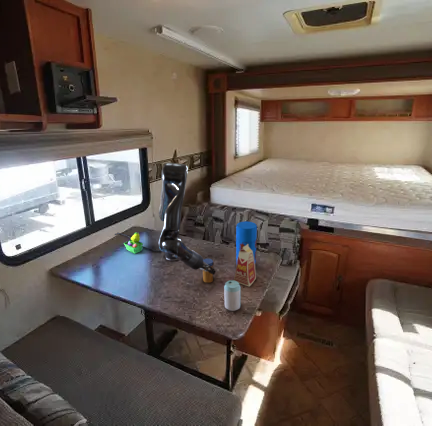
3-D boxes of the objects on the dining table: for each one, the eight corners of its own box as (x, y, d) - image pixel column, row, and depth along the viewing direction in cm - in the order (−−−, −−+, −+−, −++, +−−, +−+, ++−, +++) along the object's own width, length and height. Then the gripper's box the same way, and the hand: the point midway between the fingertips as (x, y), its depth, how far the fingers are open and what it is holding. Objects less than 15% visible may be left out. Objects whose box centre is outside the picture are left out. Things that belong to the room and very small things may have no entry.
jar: (201, 280, 147) (200, 262, 143) (208, 276, 150) (207, 258, 147) (208, 284, 144) (207, 265, 140) (215, 279, 147) (214, 261, 143)
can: (222, 309, 125) (222, 286, 120) (227, 300, 131) (226, 278, 127) (238, 313, 122) (238, 289, 118) (242, 303, 128) (242, 280, 124)
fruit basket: (124, 250, 182) (121, 234, 178) (135, 245, 188) (133, 229, 185) (134, 255, 175) (132, 238, 171) (146, 250, 181) (144, 234, 178)
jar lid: (199, 264, 144) (199, 261, 143) (207, 260, 148) (207, 257, 147) (207, 268, 140) (207, 265, 139) (215, 264, 144) (215, 261, 143)
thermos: (233, 268, 157) (233, 227, 148) (240, 259, 165) (240, 220, 157) (252, 273, 152) (252, 230, 143) (258, 263, 161) (259, 223, 152)
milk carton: (249, 286, 140) (250, 250, 133) (232, 281, 145) (232, 246, 138) (256, 277, 147) (257, 243, 140) (240, 273, 152) (240, 239, 145)
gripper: (206, 256, 131) (223, 269, 143) (185, 247, 140) (204, 259, 152) (198, 271, 129) (216, 282, 141) (178, 260, 139) (197, 272, 151)
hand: (210, 270), depth 147 cm, fingers closed on jar, 5 cm apart
